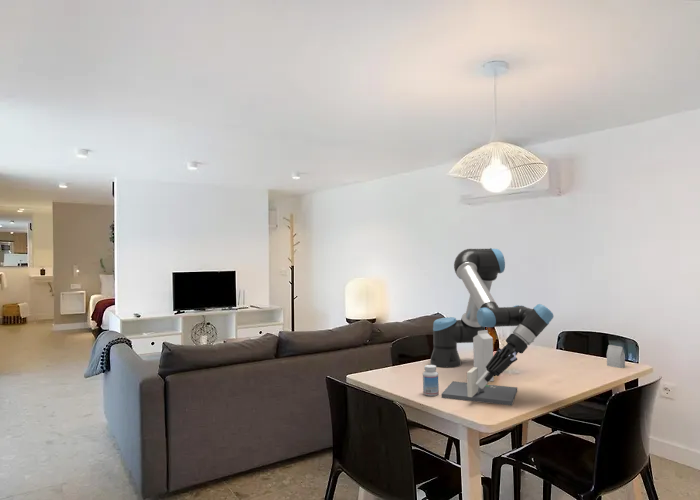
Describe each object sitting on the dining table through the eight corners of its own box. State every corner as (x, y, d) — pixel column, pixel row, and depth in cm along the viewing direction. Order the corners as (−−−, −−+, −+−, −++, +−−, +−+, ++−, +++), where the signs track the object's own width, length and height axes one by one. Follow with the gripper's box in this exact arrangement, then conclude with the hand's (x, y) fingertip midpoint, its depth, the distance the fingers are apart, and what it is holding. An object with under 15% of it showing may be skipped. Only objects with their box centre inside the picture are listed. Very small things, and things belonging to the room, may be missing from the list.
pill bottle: (441, 394, 185) (441, 366, 185) (430, 397, 181) (429, 368, 182) (431, 391, 190) (430, 363, 190) (420, 393, 186) (419, 365, 187)
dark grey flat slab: (441, 397, 181) (441, 393, 181) (452, 384, 199) (452, 380, 199) (511, 405, 170) (511, 400, 170) (517, 391, 188) (517, 386, 188)
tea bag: (620, 368, 223) (620, 347, 224) (606, 365, 229) (606, 345, 229) (625, 367, 225) (624, 346, 225) (611, 364, 231) (610, 344, 231)
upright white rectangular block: (481, 383, 193) (481, 358, 194) (490, 384, 192) (490, 359, 192) (464, 399, 172) (464, 372, 172) (474, 401, 170) (474, 373, 170)
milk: (493, 381, 204) (493, 330, 204) (483, 383, 201) (483, 331, 201) (483, 378, 209) (482, 328, 210) (473, 379, 206) (472, 330, 207)
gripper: (535, 349, 169) (492, 398, 167) (519, 343, 182) (479, 388, 180) (521, 335, 168) (478, 384, 167) (505, 330, 182) (465, 375, 180)
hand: (478, 386), depth 173 cm, fingers closed
